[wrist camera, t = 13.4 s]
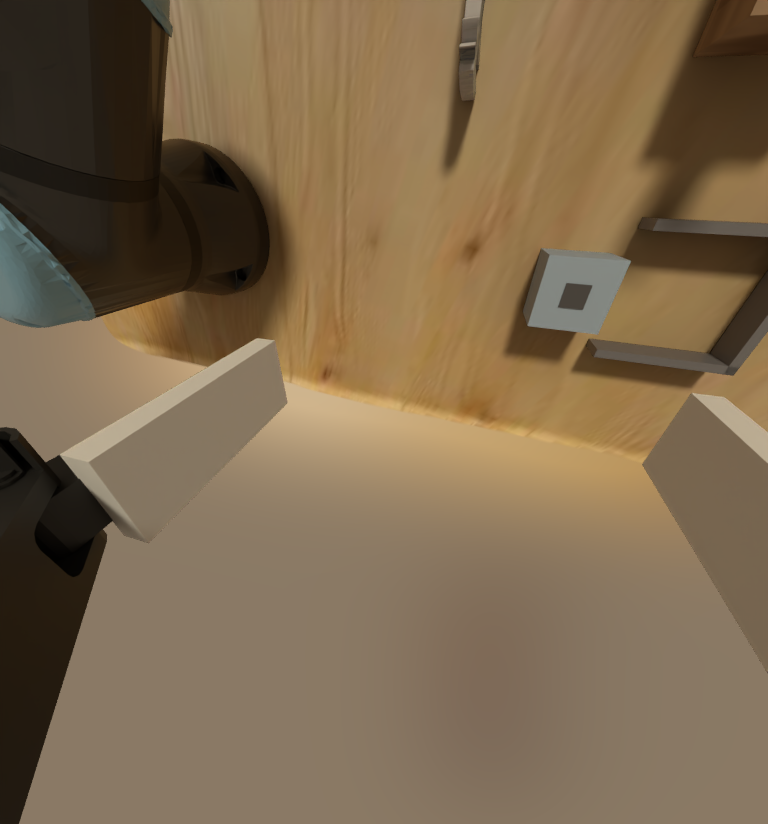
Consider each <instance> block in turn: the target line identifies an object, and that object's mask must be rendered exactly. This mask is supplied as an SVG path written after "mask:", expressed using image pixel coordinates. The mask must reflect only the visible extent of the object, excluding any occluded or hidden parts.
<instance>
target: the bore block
mask: <svg viewBox="0 0 768 824" xmlns="http://www.w3.org/2000/svg"><path fill="white" fill-rule="evenodd" d="M767 54H768V0H716V3H715V5H714V7H713V10H712V12H711V15H710V17H709V19H708V22H707V24H706V26H705V29H704V31H703V34H702V36H701V38H700V41H699V43H698V45H697V48H696V50H695V53H694V55H693V57H712V56H740V55H767Z"/></svg>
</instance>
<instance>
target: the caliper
mask: <svg viewBox="0 0 768 824" xmlns="http://www.w3.org/2000/svg"><path fill="white" fill-rule="evenodd" d="M484 3H485V0H466V8H465V18H463V19H462V43H461V44H460V46H459V49H460V65H459V87H460V94H461V99H462V101H468V100H475V93H476V70H478V68H479V60H480V44H481V29H482V17H483V9H484Z"/></svg>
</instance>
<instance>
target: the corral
mask: <svg viewBox="0 0 768 824" xmlns="http://www.w3.org/2000/svg"><path fill="white" fill-rule="evenodd" d="M638 229H645V230H651V231H667V232H686V233H704V234H722V235H740V236H758V237H768V223H748V222H727V221H706V220H685V219H664V218H642V220H641V222H640V224H639V227H638ZM767 332H768V271H767V272H766V274H765V275H764V276H763V278H762V279H761V281H760V282H759V284H758V285H757V286H756V288H755V289H754V291H753V292H752V294H751V295H750V296H749V298H748V299H747V301H746V302H745V304H744V305H743V307H742V308H741V309H740V311H739V312H738V314H737V315H736V317H735V318H734V319H733V321H732V322H731V324H730V325H729V327H728V328H727V329H726V331H725V332H724V334H723V335H722V337H721V338H720V339H719V341H718V342H717V344H716V345H715V347H714V348H713V349H712V351H711V352H710V353H701V352H693V351H685V350H677V349H669V348H661V347H653V346H645V345H636V344H628V343H620V342H612V341H604V340H596V339H589V340H588V342H587V345H586V347H587V348H588V349H589V351H590V352H591V354H592V355H593V357H598V358H605V359H613V360H620V361H628V362H635V363H643V364H650V365H658V366H665V367H673V368H680V369H688V370H695V371H703V372H710V373H717V374H725V375H732V376H733V375H734V374H735V373H736V372H737V370H738V369H739V368H740V366H741V365H742V364H743V363H744V361H745V360H746V359H747V358H748V356H749V355H750V354H751V352H752V351H753V350H754V349H755V347H756V346H757V345H758V343H759V342H760V341H761V340H762V338H763V337H764V336H765V334H766V333H767Z"/></svg>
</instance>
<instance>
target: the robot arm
mask: <svg viewBox="0 0 768 824" xmlns="http://www.w3.org/2000/svg"><path fill="white" fill-rule="evenodd" d="M169 6H170V0H0V318H3V319H5V320H7V321H10V322H13V323H16V324H19V325H23V326H28V327H36V328H41V327H44V328H45V327H51V326H56V325H60V324H65V323H69V322H74V321H79V320H82V321H87V320H88V321H89V320H92V319H94V318H96V317H100V316H103V315H106V314H109V313H113V312H116V311H119V310H122V309H126V308H129V307H132V306H136V305H139V304H142V303H145V302H149V301H152V300H155V299H158V298H162V297H165V296H168V295H171V294H174V293H178V292H182V291H191V292H199V293H207V294H216V295H227V294H233V293H236V292H239V291H242V290H245V289H247V288H249V287H251V286H252V285H254V284H255V283H256V282H257V281H258V280H259V278H260V277H261V275H262V274H263V272H264V269H265V267H266V264H267V260H268V254H269V233H268V226H267V222H266V217H265V214H264V211H263V208H262V205H261V203H260V200H259V198H258V196H257V194H256V192H255V190H254V188H253V187H252V185H251V183H250V182H249V180H248V179H247V177H246V176H245V175H244V173H243V172H242V171H241V170H240V168H239V167H238V166H237V165H236V164H235V163H234V162H233V161H232V160H231V159H230V158H229V157H227V156H226V155H225V154H223V153H222V152H221V151H219V150H217V149H216V148H214V147H212V146H210V145H207V144H204V143H200V142H195V141H191V140H186V139H168V140H164V141H162V133H163V116H164V98H165V80H166V66H167V53H168V40H169V37H172V32H173V30H172V25H171V23H170V21H169ZM286 404H287V398H286V393H285V388H284V383H283V378H282V373H281V368H280V363H279V358H278V353H277V348H276V343H275V340H268V339H260V338H256V339H255V340H253V341H251V342H249V343H248V344H246V345H244V346H243V347H241V348H239V349H238V350H236V351H234V352H232V353H231V354H229V355H227V356H226V357H224V358H222V359H221V360H219V361H217V362H216V363H214V364H212V365H210V366H209V367H207V368H205V369H204V370H202V371H200V372H199V373H197V374H195V375H194V376H192V377H190V378H188V379H187V380H185V381H183V382H182V383H180V384H178V385H177V386H175V387H173V388H171V389H170V390H168V391H166V392H165V393H163V394H161V395H160V396H158V397H156V398H155V399H153V400H151V401H149V402H148V403H146V404H144V405H143V406H141V407H140V408H138V409H136V410H134V411H133V412H131V413H129V414H127V415H126V416H124V417H122V418H121V419H119V420H118V421H116V422H114V423H112V424H111V425H109V426H107V427H106V428H104V429H102V430H100V431H99V432H97V433H96V434H94V435H92V436H90V437H88V438H87V439H85V440H83V441H82V442H80V443H78V444H77V445H75V446H73V447H72V448H70V449H68V450H67V451H65V452H63V453H61V454H60V455H58V456H57V457H55V458H53V459H51V460H49V461H48V462H46V463H45V462H44V460H43V459H42V458H41V457H40V456H39V455H38V453H37V452H36V451H35V450H34V449H33V447H32V446H31V445H30V444H29V443H28V442H27V440H26V439H25V438H24V437H23V436H22V435H21V433H19V431H18V430H17V429H15V428H7V427H4V428H0V824H19V821H20V819H21V815H22V812H23V809H24V806H25V802H26V799H27V796H28V793H29V790H30V786H31V783H32V780H33V777H34V773H35V770H36V767H37V764H38V761H39V758H40V754H41V751H42V748H43V745H44V741H45V738H46V735H47V732H48V728H49V725H50V722H51V719H52V716H53V712H54V709H55V706H56V703H57V700H58V697H59V693H60V690H61V687H62V684H63V680H64V677H65V674H66V671H67V668H68V664H69V661H70V658H71V655H72V652H73V648H74V645H75V642H76V639H77V635H78V632H79V629H80V626H81V622H82V619H83V616H84V613H85V610H86V607H87V603H88V600H89V597H90V594H91V591H92V587H93V584H94V581H95V578H96V574H97V571H98V568H99V565H100V562H101V558H102V555H103V552H104V549H105V545H106V542H107V534H106V533H105V531H104V530H103V528H105V527H106V526H107V525H108V524H109V523H110V522H112V521H113V522H114V523H115V525H116V526H117V527H118V528H119V530H120V531H121V532H122V533H123V535H124V536H127V537H130V538H134V539H137V540H140V541H143V542H146V543H149V542H150V541H151V540H152V539H153V538H154V537H155V536H156V535H157V534H158V533H159V532H160V531H161V530H162V529H163V528H164V527H165V526H166V525H167V524H168V523H169V522H170V521H171V520H172V519H173V518H174V517H175V516H176V515H177V514H178V513H179V512H180V511H181V510H182V509H183V508H184V507H185V506H186V505H187V504H188V503H189V502H190V501H191V500H192V499H193V498H194V497H195V496H196V495H197V494H198V493H199V492H200V491H201V490H202V489H203V488H204V487H205V486H206V485H207V484H208V483H209V482H210V481H211V480H212V479H213V478H214V477H215V476H216V475H217V474H218V473H219V472H220V471H221V470H222V469H223V468H224V466H225V465H227V464H228V463H229V462H230V460H232V459H233V457H235V456H236V454H237V453H238V452H239V451H240V450H241V449H242V448H243V447H244V446H245V445H246V444H247V443H248V442H249V441H250V440H251V439H252V438H253V437H254V436H255V435H256V434H257V433H258V432H259V431H260V430H261V429H262V428H263V427H264V426H265V425H266V424H267V423H268V422H269V421H270V420H271V419H272V418H273V417H274V416H275V415H276V414H277V413H278V412H279V411H280V410H281V409H282V408H283V407H284V406H285V405H286ZM642 465H643V467H644V469H645V470H646V472H647V474H648V475H649V477H650V479H651V480H652V482H653V483H654V485H655V486H656V488H657V490H658V492H659V493H660V495H661V497H662V498H663V500H664V502H665V503H666V505H667V507H668V508H669V510H670V512H671V513H672V515H673V517H674V518H675V520H676V522H677V523H678V525H679V527H680V528H681V530H682V532H683V533H684V535H685V537H686V538H687V540H688V542H689V543H690V545H691V547H692V548H693V550H694V552H695V553H696V555H697V557H698V558H699V560H700V562H701V563H702V565H703V567H704V568H705V570H706V572H707V573H708V575H709V577H710V578H711V580H712V581H713V583H714V585H715V587H716V588H717V590H718V592H719V593H720V595H721V596H722V598H723V600H724V602H725V603H726V605H727V607H728V608H729V610H730V612H731V613H732V615H733V616H734V618H735V620H736V621H737V623H738V625H739V627H740V628H741V630H742V632H743V633H744V635H745V637H746V638H747V640H748V642H749V643H750V645H751V646H752V648H753V650H754V652H755V653H756V655H757V656H758V658H759V660H760V662H761V663H762V665H763V666H764V668H765V670H766V671H767V673H768V432H767V431H765V430H764V429H763V428H762V427H760V426H759V425H758V424H757V423H756V422H754V421H753V420H752V419H751V418H749V417H748V416H747V415H746V414H744V413H743V412H742V411H741V410H739V409H738V408H737V407H736V406H735V405H733V404H732V403H731V402H730V401H728V400H727V399H726V398H725V397H719V396H711V395H703V394H695V393H691V394H690V396H689V397H688V399H687V400H686V402H685V403H684V404H683V406H682V407H681V409H680V410H679V412H678V413H677V415H676V416H675V418H674V419H673V420H672V422H671V423H670V425H669V426H668V428H667V429H666V431H665V432H664V433H663V435H662V436H661V438H660V439H659V441H658V442H657V444H656V445H655V447H654V448H653V449H652V451H651V452H650V454H649V455H648V457H647V458H646V460H645V461H644V462H643V464H642Z"/></svg>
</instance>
